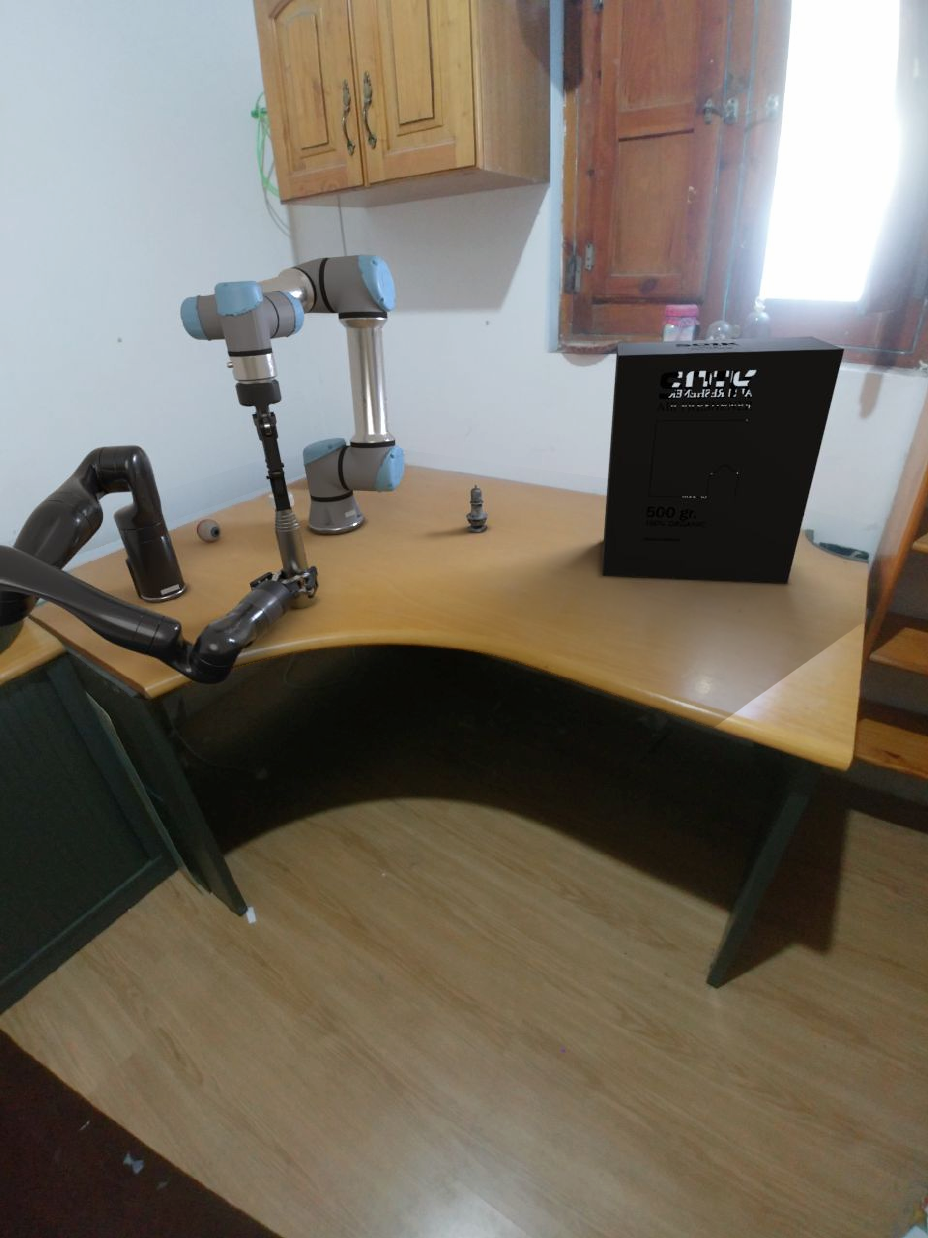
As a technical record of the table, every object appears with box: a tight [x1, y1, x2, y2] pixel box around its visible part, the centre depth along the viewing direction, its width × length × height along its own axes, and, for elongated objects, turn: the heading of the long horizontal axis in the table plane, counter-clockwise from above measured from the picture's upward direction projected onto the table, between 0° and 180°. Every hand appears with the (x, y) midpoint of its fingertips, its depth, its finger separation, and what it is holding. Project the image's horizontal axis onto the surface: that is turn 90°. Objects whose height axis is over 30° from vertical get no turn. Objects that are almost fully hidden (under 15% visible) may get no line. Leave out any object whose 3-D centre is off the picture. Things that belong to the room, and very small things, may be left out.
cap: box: [268, 490, 295, 510], centre depth 118 cm, size 4×4×2 cm
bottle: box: [273, 506, 316, 609], centre depth 124 cm, size 5×5×23 cm
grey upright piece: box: [465, 484, 489, 533], centre depth 159 cm, size 6×6×12 cm
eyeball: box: [196, 518, 222, 543], centre depth 162 cm, size 6×6×6 cm
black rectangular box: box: [602, 336, 845, 585], centre depth 127 cm, size 38×20×45 cm, turn 78°
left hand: (302, 569), depth 129 cm, fingers closed on bottle, 5 cm apart
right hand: (282, 505), depth 119 cm, fingers closed on cap, 4 cm apart
